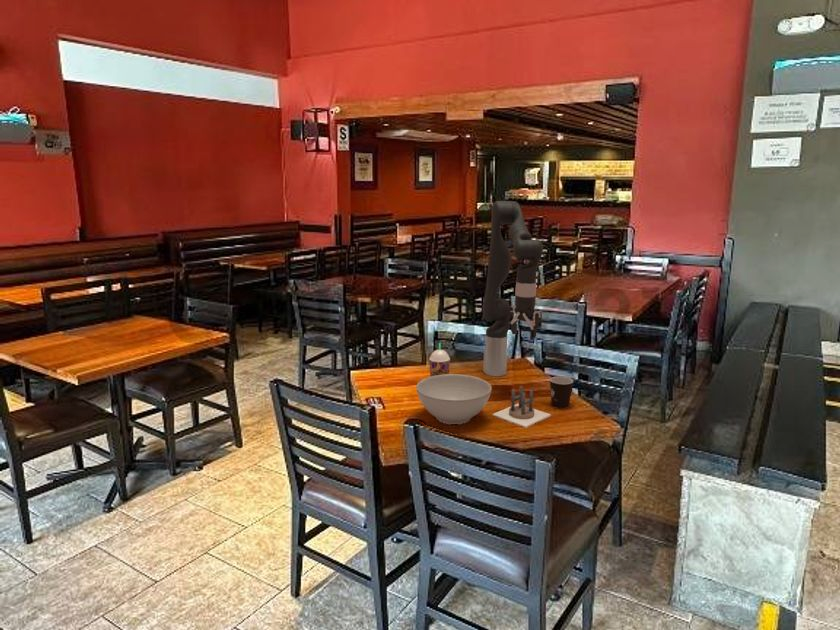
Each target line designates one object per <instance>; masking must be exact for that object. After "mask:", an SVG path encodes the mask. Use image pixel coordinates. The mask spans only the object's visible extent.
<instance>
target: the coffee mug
mask: <svg viewBox="0 0 840 630" xmlns="http://www.w3.org/2000/svg"><path fill="white" fill-rule="evenodd" d="M573 385H574V380H573V378H570V377H568V376H553V377H550V378H549V387H550V388H549V389H550V390H549V391H550V400H551V401H550V402H551V407H553V408H555V407H556V409H568V408H569V407H570V401H571V395H572V391H573Z"/></svg>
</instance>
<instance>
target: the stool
mask: <svg viewBox="0 0 840 630" xmlns="http://www.w3.org/2000/svg"><path fill="white" fill-rule="evenodd" d="M510 397H511V398H510V403H511V404H510V407H511V408H510V409H509V415H510V416H511V417H513V418H516V419H530V418H532V417H534V410H533V409H534V408H533V407H534V406H533V404H534V389H532V388H530V389H529V398H527V399H526V392H525V391H524V387H523V385H520V386H519V390H518V395H516V389H515V388H512V389H511V396H510ZM516 402H518V404H519V406H515V404H516ZM527 405H529V406H527Z"/></svg>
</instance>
